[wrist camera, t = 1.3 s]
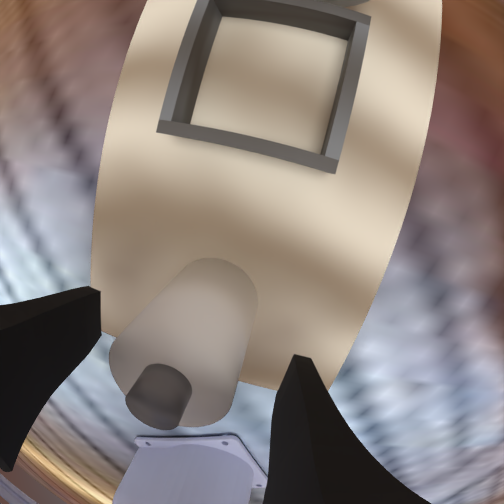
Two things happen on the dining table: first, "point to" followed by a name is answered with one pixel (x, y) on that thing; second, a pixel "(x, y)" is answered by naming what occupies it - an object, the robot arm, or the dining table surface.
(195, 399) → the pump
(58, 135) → the dining table surface
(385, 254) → the motor mount
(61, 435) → the dining table surface
